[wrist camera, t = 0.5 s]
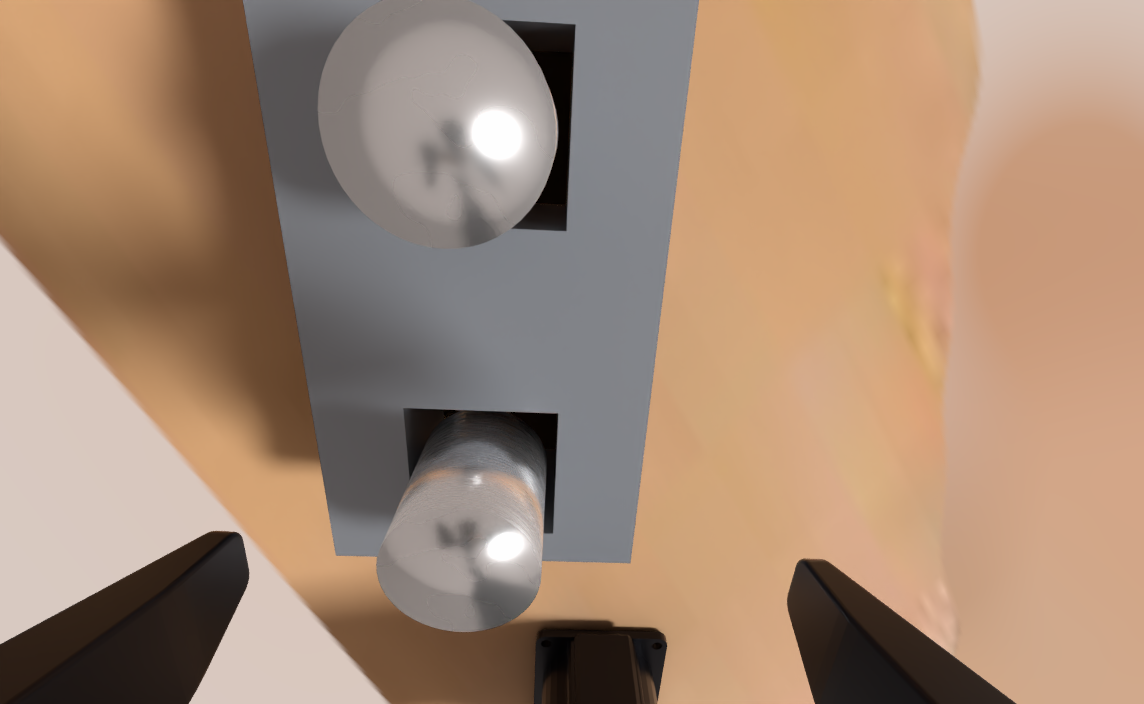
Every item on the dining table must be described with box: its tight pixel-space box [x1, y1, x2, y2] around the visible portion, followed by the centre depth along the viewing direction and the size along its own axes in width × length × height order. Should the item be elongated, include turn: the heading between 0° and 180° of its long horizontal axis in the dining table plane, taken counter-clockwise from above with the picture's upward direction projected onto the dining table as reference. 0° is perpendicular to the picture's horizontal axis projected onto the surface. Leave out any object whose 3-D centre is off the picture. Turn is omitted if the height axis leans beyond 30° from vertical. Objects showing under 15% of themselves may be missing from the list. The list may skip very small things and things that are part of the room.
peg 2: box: [376, 410, 547, 632], centre depth 15 cm, size 4×4×5 cm
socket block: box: [243, 0, 699, 563], centre depth 17 cm, size 17×10×5 cm, turn 177°
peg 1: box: [318, 0, 559, 249], centre depth 11 cm, size 4×4×5 cm
